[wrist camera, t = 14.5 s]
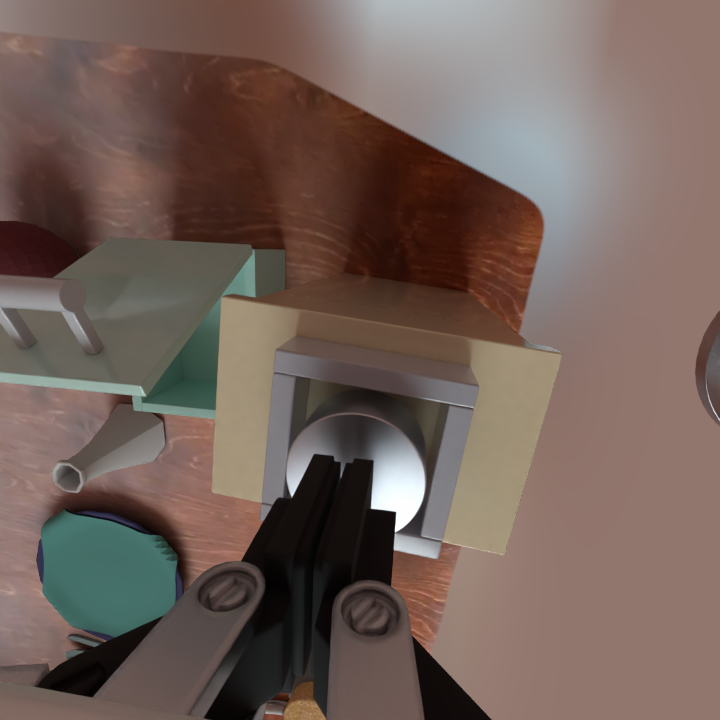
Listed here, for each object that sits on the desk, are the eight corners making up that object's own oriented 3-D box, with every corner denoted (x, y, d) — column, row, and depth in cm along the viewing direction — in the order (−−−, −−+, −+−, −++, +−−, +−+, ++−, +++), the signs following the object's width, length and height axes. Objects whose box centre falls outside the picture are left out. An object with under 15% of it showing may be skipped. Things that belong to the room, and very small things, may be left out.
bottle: (315, 596, 50) (274, 736, 35) (321, 557, 48) (280, 686, 34) (362, 607, 49) (339, 754, 35) (370, 568, 48) (349, 705, 33)
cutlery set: (198, 525, 50) (188, 538, 47) (179, 702, 58) (169, 720, 56) (48, 484, 51) (31, 495, 49) (50, 662, 59) (36, 678, 57)
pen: (297, 706, 55) (294, 718, 54) (201, 699, 57) (195, 710, 56) (296, 700, 55) (293, 712, 53) (199, 693, 57) (194, 704, 56)
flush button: (310, 378, 14) (292, 400, 12) (436, 401, 14) (440, 428, 12) (297, 487, 16) (278, 525, 13) (413, 512, 15) (412, 554, 13)
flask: (160, 469, 48) (96, 523, 39) (104, 446, 48) (27, 494, 39) (173, 416, 46) (109, 459, 37) (114, 392, 46) (35, 429, 37)
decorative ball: (13, 292, 45) (-97, 303, 35) (35, 206, 42) (-78, 192, 32) (93, 336, 45) (5, 360, 35) (121, 253, 42) (33, 254, 32)
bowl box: (285, 393, 44) (257, 423, 36) (181, 383, 45) (133, 410, 37) (285, 249, 40) (254, 249, 32) (171, 243, 41) (115, 241, 33)
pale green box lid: (146, 397, 20) (103, 313, 17) (-62, 376, 22) (-139, 294, 18) (253, 253, 32) (240, 187, 29) (113, 246, 33) (86, 182, 30)
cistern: (340, 268, 39) (187, 303, 13) (472, 289, 38) (590, 372, 12) (329, 354, 42) (181, 526, 16) (453, 376, 41) (517, 602, 14)
